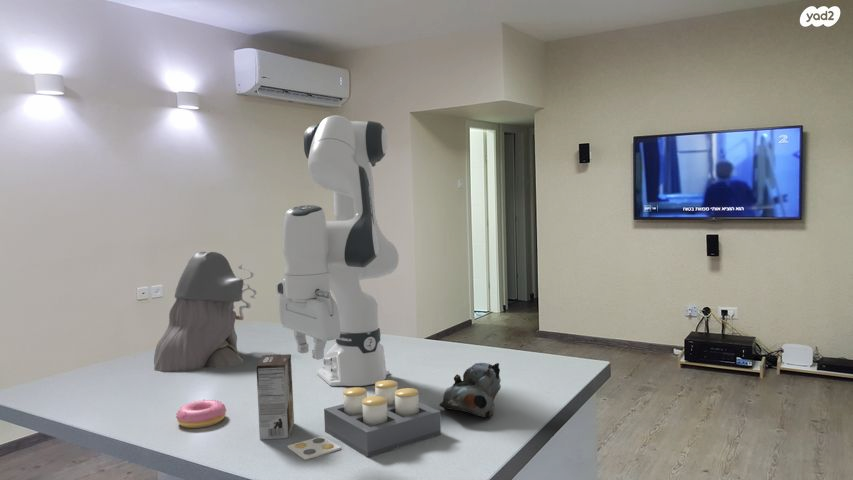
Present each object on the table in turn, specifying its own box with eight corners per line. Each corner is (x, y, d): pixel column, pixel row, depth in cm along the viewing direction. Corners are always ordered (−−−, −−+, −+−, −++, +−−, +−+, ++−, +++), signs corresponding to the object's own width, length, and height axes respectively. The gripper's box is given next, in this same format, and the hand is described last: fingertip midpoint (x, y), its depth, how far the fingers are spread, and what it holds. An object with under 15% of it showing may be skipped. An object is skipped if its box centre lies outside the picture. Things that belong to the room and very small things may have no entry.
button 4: (391, 414, 131) (390, 391, 131) (410, 409, 134) (409, 386, 134) (404, 420, 127) (403, 397, 127) (423, 415, 130) (423, 392, 130)
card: (287, 447, 125) (287, 444, 125) (323, 437, 130) (322, 435, 130) (304, 460, 119) (304, 457, 119) (341, 449, 124) (341, 446, 124)
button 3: (371, 405, 138) (370, 383, 137) (390, 400, 141) (389, 378, 140) (383, 410, 134) (382, 388, 133) (402, 405, 137) (401, 383, 136)
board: (324, 431, 134) (324, 408, 133) (393, 412, 144) (393, 391, 144) (367, 457, 119) (366, 432, 119) (440, 434, 130) (440, 411, 130)
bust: (278, 352, 207) (274, 249, 205) (192, 378, 179) (186, 258, 176) (212, 342, 225) (208, 247, 223) (125, 364, 197) (118, 256, 195)
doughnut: (226, 427, 139) (225, 408, 139) (173, 433, 136) (172, 415, 135) (227, 411, 149) (226, 394, 149) (178, 417, 146) (177, 400, 146)
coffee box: (266, 424, 139) (262, 354, 138) (294, 423, 139) (291, 353, 138) (258, 440, 130) (254, 365, 129) (289, 438, 130) (286, 363, 129)
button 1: (339, 413, 133) (339, 390, 133) (359, 408, 136) (359, 385, 136) (351, 419, 129) (350, 396, 129) (371, 413, 132) (370, 391, 132)
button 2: (358, 423, 127) (357, 399, 126) (379, 417, 129) (378, 394, 129) (371, 430, 123) (370, 405, 122) (392, 424, 125) (391, 400, 125)
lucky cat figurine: (435, 405, 148) (454, 351, 152) (481, 423, 148) (499, 368, 152) (444, 408, 134) (465, 347, 137) (495, 427, 134) (515, 366, 138)
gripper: (347, 290, 116) (350, 362, 117) (300, 281, 132) (303, 344, 133) (317, 294, 112) (320, 368, 113) (272, 284, 129) (275, 349, 130)
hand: (310, 355), depth 123 cm, fingers open, 5 cm apart
